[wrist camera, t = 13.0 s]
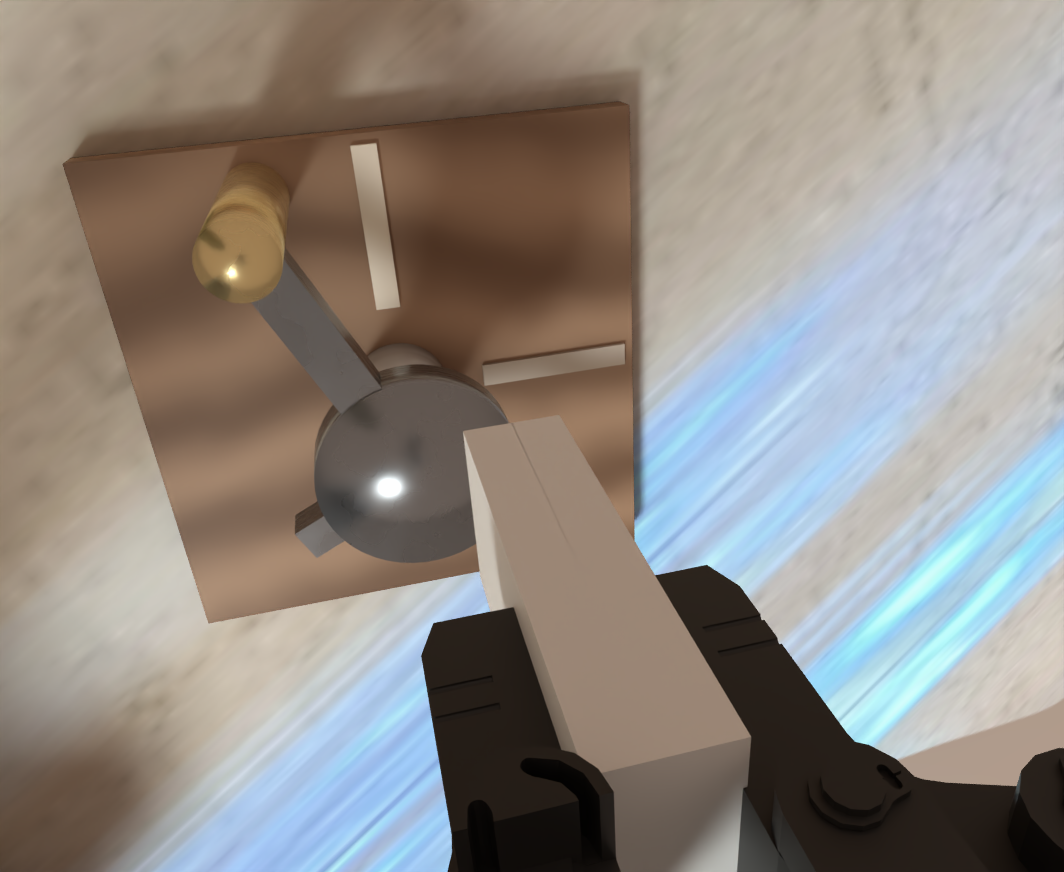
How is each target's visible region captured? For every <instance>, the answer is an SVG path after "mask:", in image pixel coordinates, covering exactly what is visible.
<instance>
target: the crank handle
mask: <svg viewBox="0 0 1064 872" xmlns="http://www.w3.org/2000/svg"><path fill="white" fill-rule="evenodd" d="M289 202H290V195H289V190H288V187H287V185H286V182H285V181H284V179H283V178H282V177H281V175H280V174H279V173H278V172H277V171H275V170H274V169H273V168H271V167H269V166H267V165H265V164H261V163H256V162H249V163H243V164H240V165H238V166H236V167H234V168H233V169H232V170H231V171H230V172H229V173H228V174H227V175H226V177H225V179H224V181H223V183H222V185H221V187H220V189H219V192H218V194H217V196H216V198H215V200H214V202H213V205H212V207H211V209H210V211H209V213H208V216H207V218H206V220H205V222H204V224H203V226H202V229H201V231H200V233H199V235H198V237H197V240H196V242H195V244H194V247H193V252H192V263H193V268H194V271H195V274H196V276H197V278H198V280H199V281H200V283H201V284H202V285H203V286H204V287H205V288H206V290H208V291H209V292H210V293H211V294H213V295H214V296H216V297H218V298H220V299H222V300H225V301H228V302H232V303H252V305H253V306H254V307H255V308H256V310H257V311H258V312H259V313H260V314H261V316H262V317H263V318H264V319H265V321H266V322H267V323H268V324H269V326H270V327H271V328H272V329H273V331H274V332H275V333H276V334H277V336H278V337H279V338H280V339H281V340H282V342H283V343H284V344H285V345H286V347H287V348H288V349H289V350H290V352H291V353H292V354H293V355H294V357H295V358H296V359H297V360H298V361H299V363H300V364H301V365H302V366H303V368H304V369H305V370H306V371H307V373H308V374H309V375H310V376H311V378H312V379H313V380H314V381H315V383H316V384H317V385H318V386H319V387H320V389H321V390H322V391H323V392H324V394H325V395H326V396H327V397H328V399H329V400H330V401H331V402H332V404H333V405H332V406H331V408H330V409H329V411H328V412H327V414H326V416H325V417H324V419H323V421H322V423H321V426H320V428H319V430H318V434H317V438H316V442H315V449H314V485H315V493H316V498H317V502H315V503H314V504H312V505H311V506H309V507H307V508H306V509H304V510H303V511H301V512H299V513H298V514H296V515H295V535H296V536H297V537H298V538H299V540H300V541H301V542H302V543H303V544H304V545H305V546H306V547H307V548H308V549H309V550H310V551H311V552H312V553H313V555H314V556H315V557H316V558H318V557H320V556H321V555H323V554H324V553H326V552H328V551H329V550H331V549H332V548H334V547H336V546H337V545H339V544H341V543H342V542H344V541H346V542H347V543H348V544H350V545H351V546H352V547H354V548H356V549H358V550H360V551H361V552H363V553H365V554H368V555H370V556H373V557H376V558H379V559H383V560H387V561H393V562H400V563H420V562H429V561H434V560H439V559H443V558H446V557H450V556H452V555H455V554H457V553H460V552H462V551H464V550H466V549H468V548H470V547H471V546H473V545H475V544H476V536H475V528H474V520H473V511H472V503H471V494H470V486H469V478H468V469H467V461H466V452H465V444H464V436H463V431H466V430H472V429H478V428H484V427H490V426H496V425H502V424H508V423H509V422H508V419H507V417H506V415H505V413H504V411H503V409H502V408H501V406H500V404H499V403H498V402H497V400H496V399H495V398H494V396H493V395H492V394H491V393H490V392H489V391H488V390H487V389H486V388H485V387H484V386H482V385H481V384H479V383H478V382H477V381H475V380H474V379H472V378H470V377H468V376H466V375H465V374H463V373H460V372H457V371H455V370H452V369H449V368H445V367H440V366H435V365H425V364H415V365H403V366H396V367H393V368H389V369H385V370H382V371H378V370H377V368H376V367H375V366H374V364H373V363H372V362H371V360H370V359H369V358H368V356H367V355H366V354H365V352H364V351H363V350H362V348H361V347H360V346H359V344H358V343H357V342H356V340H355V339H354V338H353V337H352V335H351V334H350V333H349V331H348V330H347V329H346V327H345V326H344V325H343V323H342V322H341V321H340V319H339V318H338V317H337V315H336V314H335V313H334V311H333V310H332V309H331V307H330V306H329V305H328V303H327V302H326V301H325V299H324V298H323V297H322V295H321V294H320V293H319V291H318V290H317V289H316V287H315V286H314V285H313V283H312V282H311V281H310V279H309V278H308V277H307V275H306V274H305V273H304V271H303V270H302V269H301V267H300V266H299V265H298V263H297V262H296V261H295V259H294V258H293V257H292V255H291V254H290V253H289V252H288V250H287V249H286V248H285V240H286V231H287V221H288V212H289Z"/></svg>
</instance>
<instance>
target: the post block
mask: <svg viewBox="0 0 1064 872" xmlns="http://www.w3.org/2000/svg"><path fill="white" fill-rule="evenodd" d="M249 162H256V163H261V164H265V165H267V166H269V167H271V168H273V169H274V170H275V171H277V172H278V173H279V174H280V175H281V177H282V178H283V179H284V181H285V182H286V185H287V187H288V190H289V195H290V202H289V212H288V221H287V231H286V240H285V248H286V249H287V250H288V252H289V253H290V254H291V255H292V257H293V258H294V259H295V261H296V262H297V263H298V265H299V266H300V267H301V269H302V270H303V271H304V273H305V274H306V275H307V277H308V278H309V279H310V281H311V282H312V283H313V285H314V286H315V287H316V289H317V290H318V291H319V293H320V294H321V295H322V297H323V298H324V299H325V301H326V302H327V303H328V305H329V306H330V307H331V309H332V310H333V311H334V313H335V314H336V315H337V317H338V318H339V319H340V321H341V322H342V323H343V325H344V326H345V327H346V329H347V330H348V331H349V333H350V334H351V335H352V337H353V338H354V339H355V340H356V342H357V343H358V344H359V346H360V347H361V348H362V350H363V351H364V352H365V354H366V355H367V356H368V358H369V359H370V360H371V362H372V363H373V364H374V366H375V367H376V368H377V370H378V371H382V370H385V369H389V368H393V367H396V366H403V365H415V364H425V365H435V366H440V367H445V368H449V369H452V370H455V371H457V372H460V373H463V374H465V375H466V376H468V377H470V378H472V379H474V380H475V381H477V382H478V383H479V384H481V385H482V386H484V387H485V388H486V389H487V390H488V391H489V392H490V393H491V394H492V395H493V396H494V398H495V399H496V400H497V402H498V403H499V404H500V406H501V408H502V409H503V411H504V413H505V415H506V417H507V419H508V422H509V423H514V422H520V421H526V420H532V419H538V418H544V417H550V416H556V415H560V417H561V419H562V420H563V422H564V424H565V425H566V427H567V429H568V430H569V432H570V434H571V435H572V437H573V439H574V441H575V442H576V444H577V446H578V447H579V449H580V451H581V452H582V454H583V456H584V457H585V459H586V461H587V462H588V464H589V466H590V467H591V469H592V471H593V472H594V474H595V476H596V477H597V479H598V481H599V482H600V484H601V486H602V487H603V489H604V491H605V493H606V494H607V496H608V498H609V499H610V501H611V503H612V504H613V506H614V508H615V509H616V511H617V513H618V514H619V516H620V518H621V519H622V521H623V523H624V524H625V526H626V528H627V529H628V531H629V533H630V534H631V536H632V538H633V539H634V460H633V373H632V286H631V199H630V112H629V105H628V104H625V103H622V102H611V103H601V104H592V105H582V106H572V107H563V108H553V109H543V110H534V111H524V112H514V113H504V114H495V115H485V116H475V117H466V118H456V119H446V120H436V121H427V122H417V123H407V124H398V125H388V126H378V127H368V128H359V129H349V130H339V131H330V132H320V133H310V134H301V135H291V136H281V137H271V138H262V139H252V140H242V141H233V142H223V143H213V144H203V145H194V146H184V147H174V148H165V149H155V150H145V151H135V152H126V153H116V154H106V155H97V156H87V157H77V158H70V159H69V160H68V161H66V162H65V163H63V167H64V170H65V173H66V176H67V179H68V182H69V186H70V189H71V192H72V195H73V198H74V201H75V205H76V208H77V211H78V214H79V217H80V220H81V223H82V227H83V230H84V233H85V236H86V239H87V242H88V245H89V249H90V252H91V255H92V258H93V261H94V264H95V267H96V271H97V274H98V277H99V280H100V283H101V286H102V290H103V293H104V296H105V299H106V302H107V305H108V308H109V312H110V315H111V318H112V321H113V324H114V327H115V330H116V334H117V337H118V340H119V343H120V346H121V349H122V352H123V356H124V359H125V362H126V365H127V368H128V371H129V374H130V378H131V381H132V384H133V387H134V390H135V393H136V397H137V400H138V403H139V406H140V409H141V412H142V415H143V419H144V422H145V425H146V428H147V431H148V434H149V437H150V441H151V444H152V447H153V450H154V453H155V456H156V459H157V463H158V466H159V469H160V472H161V475H162V478H163V482H164V485H165V488H166V491H167V494H168V497H169V500H170V504H171V507H172V510H173V513H174V516H175V519H176V522H177V526H178V529H179V532H180V535H181V538H182V541H183V544H184V548H185V551H186V554H187V557H188V560H189V563H190V567H191V570H192V573H193V576H194V579H195V582H196V585H197V589H198V592H199V595H200V598H201V601H202V604H203V607H204V611H205V614H206V617H207V620H208V623H213V622H218V621H224V620H229V619H234V618H239V617H245V616H250V615H255V614H260V613H265V612H271V611H276V610H281V609H286V608H291V607H297V606H302V605H307V604H312V603H317V602H323V601H328V600H333V599H338V598H343V597H349V596H354V595H359V594H364V593H369V592H375V591H380V590H385V589H390V588H395V587H401V586H406V585H411V584H416V583H422V582H427V581H432V580H437V579H442V578H448V577H453V576H458V575H463V574H468V573H474V572H479V571H480V570H479V561H478V553H477V545H476V544H475V545H473V546H471V547H470V548H468V549H466V550H464V551H462V552H460V553H457V554H455V555H452V556H450V557H446V558H443V559H439V560H434V561H429V562H420V563H400V562H393V561H387V560H383V559H379V558H376V557H373V556H370V555H368V554H365V553H363V552H361V551H360V550H358V549H356V548H354V547H352V546H351V545H350V544H348V543H347V542H346V541H344V542H342V543H341V544H339V545H337V546H336V547H334V548H332V549H331V550H329V551H328V552H326V553H324V554H323V555H321V556H320V557H318V558H316V557H315V556H314V555H313V553H312V552H311V551H310V550H309V549H308V548H307V547H306V546H305V545H304V544H303V543H302V542H301V541H300V540H299V538H298V537H297V536H296V535H295V515H296V514H298V513H299V512H301V511H303V510H304V509H306V508H307V507H309V506H311V505H312V504H314V503H315V502H317V498H316V493H315V485H314V449H315V442H316V438H317V434H318V430H319V428H320V426H321V423H322V421H323V419H324V417H325V416H326V414H327V412H328V411H329V409H330V408H331V406H332V405H333V404H332V402H331V401H330V400H329V399H328V397H327V396H326V395H325V394H324V392H323V391H322V390H321V389H320V387H319V386H318V385H317V384H316V383H315V381H314V380H313V379H312V378H311V376H310V375H309V374H308V373H307V371H306V370H305V369H304V368H303V366H302V365H301V364H300V363H299V361H298V360H297V359H296V358H295V357H294V355H293V354H292V353H291V352H290V350H289V349H288V348H287V347H286V345H285V344H284V343H283V342H282V340H281V339H280V338H279V337H278V336H277V334H276V333H275V332H274V331H273V329H272V328H271V327H270V326H269V324H268V323H267V322H266V321H265V319H264V318H263V317H262V316H261V314H260V313H259V312H258V311H257V310H256V308H255V307H254V306H253V305H252V303H232V302H228V301H225V300H222V299H220V298H218V297H216V296H214V295H213V294H211V293H210V292H209V291H208V290H206V288H205V287H204V286H203V285H202V284H201V283H200V281H199V280H198V278H197V276H196V274H195V271H194V268H193V263H192V252H193V247H194V244H195V242H196V240H197V237H198V235H199V233H200V231H201V229H202V226H203V224H204V222H205V220H206V218H207V216H208V213H209V211H210V209H211V207H212V205H213V202H214V200H215V198H216V196H217V194H218V192H219V189H220V187H221V185H222V183H223V181H224V179H225V177H226V175H227V174H228V173H229V172H230V171H231V170H232V169H233V168H234V167H236V166H238V165H240V164H243V163H249Z"/></svg>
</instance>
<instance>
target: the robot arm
mask: <svg viewBox="0 0 1064 872" xmlns="http://www.w3.org/2000/svg"><path fill="white" fill-rule="evenodd" d="M463 436H464V444H465V452H466V461H467V469H468V478H469V486H470V494H471V503H472V511H473V520H474V528H475V536H476V545H477V553H478V561H479V570H480V577H481V581H482V584H483V587H484V591H485V594H486V597H487V601H488V604H489V608H490V611H491V612H486V613H481V614H477V615H472V616H467V617H462V618H457V619H452V620H447V621H442V622H437V623H433V626H432V628H431V631H430V634H429V636H428V639H427V642H426V644H425V647H424V650H423V652H422V655H421V657H422V663H423V669H424V675H425V680H426V686H427V692H428V698H429V704H430V710H431V716H432V722H433V728H434V734H435V740H436V746H437V751H438V757H439V763H440V769H441V775H442V781H443V786H444V792H445V798H446V804H447V810H448V816H449V822H450V827H451V833H452V855H451V860H450V864H449V868H448V872H1064V748H1057V749H1054V750H1051V751H1048V752H1044V753H1041V754H1038V755H1035V756H1034V757H1033V758H1032V759H1031V760H1030V762H1029V763H1028V764H1027V765H1026V766H1025V767H1024V768H1023V769H1022V771H1021V773H1020V777H1019V780H1018V784H1017V786H1000V785H980V784H960V783H959V784H958V783H944V782H937V781H930V780H924V779H920V778H917V777H914V776H913V775H912V774H911V773H910V772H909V771H908V770H907V769H906V768H905V767H904V766H903V765H902V764H901V763H900V762H899V761H897V760H896V759H895V758H893V757H891V756H889V755H887V754H885V753H883V752H881V751H879V750H878V749H876V748H874V747H872V746H870V745H866V744H862V743H857V742H855V741H854V740H853V739H852V738H851V737H850V736H849V735H848V734H847V733H846V731H845V730H844V729H843V727H842V726H841V724H840V723H839V722H838V720H837V719H836V718H835V716H834V715H833V714H832V712H831V711H830V709H829V708H828V707H827V705H826V704H825V703H824V701H823V700H822V698H821V697H820V696H819V694H818V693H817V692H816V690H815V689H814V687H813V686H812V685H811V683H810V682H809V681H808V679H807V678H806V676H805V675H804V674H803V672H802V671H801V670H800V668H799V667H798V665H797V664H796V663H795V661H794V660H793V659H792V657H791V656H790V654H789V653H788V652H787V650H786V649H785V648H784V646H783V645H782V644H779V643H778V640H777V637H776V635H775V634H774V633H773V631H772V630H771V628H770V627H769V626H768V624H767V623H766V622H765V620H761V617H760V613H759V612H758V611H757V609H756V608H755V606H754V605H753V604H752V602H751V601H750V600H749V598H748V597H747V595H746V594H745V593H744V591H743V590H742V589H741V587H740V586H739V585H737V584H736V583H734V582H732V581H731V580H729V579H728V578H726V577H725V576H723V575H722V574H720V573H719V572H717V571H715V570H714V569H712V568H711V567H709V566H708V565H704V566H699V567H694V568H690V569H685V570H680V571H675V572H670V573H665V574H660V575H654V573H653V571H652V570H651V568H650V566H649V565H648V563H647V561H646V560H645V558H644V556H643V555H642V553H641V551H640V550H639V548H638V546H637V544H636V543H635V541H634V539H633V538H632V536H631V534H630V533H629V531H628V529H627V528H626V526H625V524H624V523H623V521H622V519H621V518H620V516H619V514H618V513H617V511H616V509H615V508H614V506H613V504H612V503H611V501H610V499H609V498H608V496H607V494H606V493H605V491H604V489H603V487H602V486H601V484H600V482H599V481H598V479H597V477H596V476H595V474H594V472H593V471H592V469H591V467H590V466H589V464H588V462H587V461H586V459H585V457H584V456H583V454H582V452H581V451H580V449H579V447H578V446H577V444H576V442H575V441H574V439H573V437H572V435H571V434H570V432H569V430H568V429H567V427H566V425H565V424H564V422H563V420H562V419H561V417H560V415H556V416H550V417H544V418H538V419H532V420H526V421H520V422H514V423H508V424H502V425H496V426H490V427H484V428H478V429H472V430H466V431H463Z"/></svg>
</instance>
